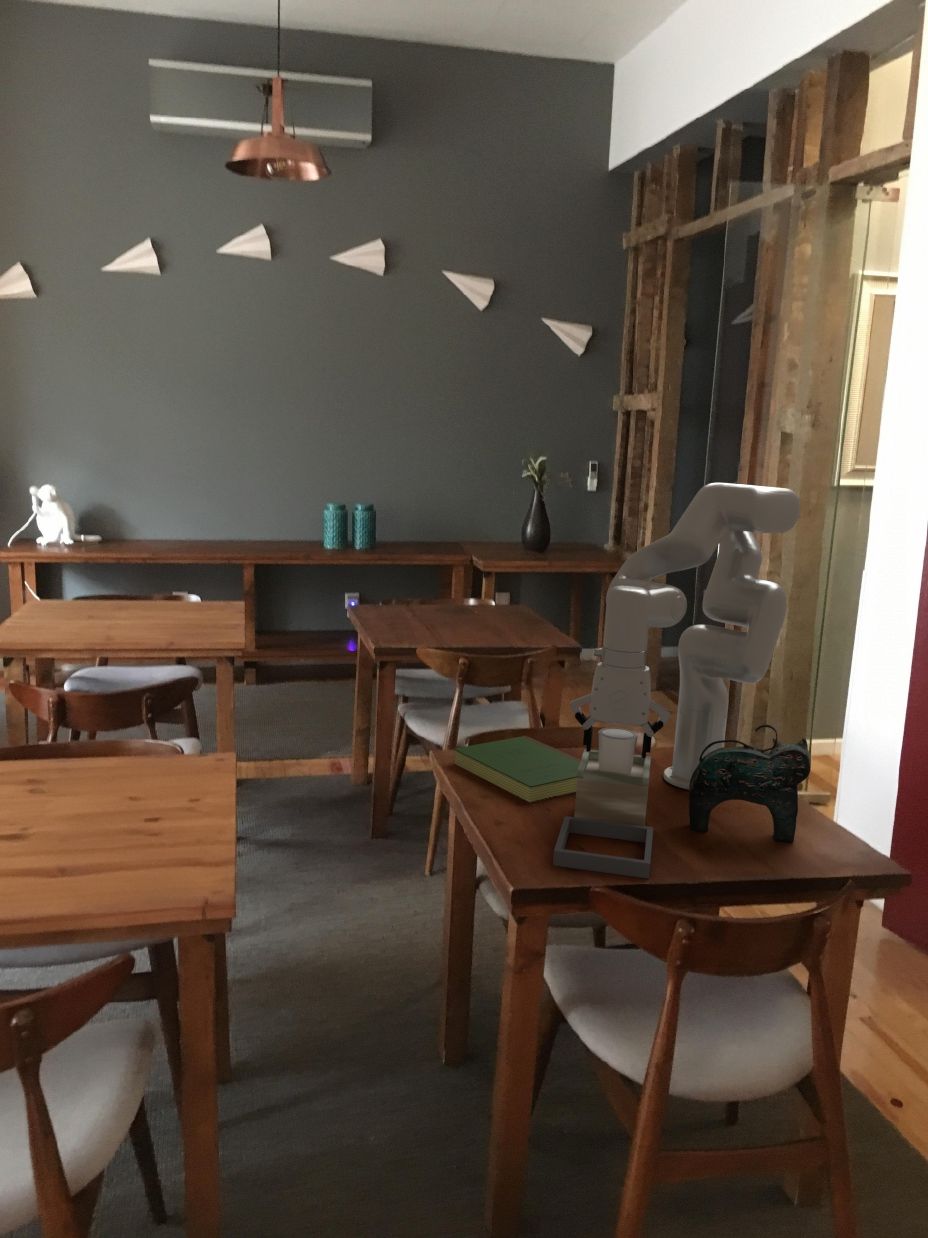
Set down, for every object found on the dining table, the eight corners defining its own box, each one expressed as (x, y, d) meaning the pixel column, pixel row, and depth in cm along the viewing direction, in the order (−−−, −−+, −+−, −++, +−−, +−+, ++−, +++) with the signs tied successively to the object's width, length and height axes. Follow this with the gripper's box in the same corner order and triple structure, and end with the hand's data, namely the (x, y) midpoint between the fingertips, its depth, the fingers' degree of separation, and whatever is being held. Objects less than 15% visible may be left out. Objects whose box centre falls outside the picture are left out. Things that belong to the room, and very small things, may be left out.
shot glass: (633, 779, 175) (637, 740, 174) (593, 775, 176) (596, 736, 175) (635, 766, 182) (638, 729, 180) (596, 762, 183) (599, 725, 182)
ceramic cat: (800, 834, 178) (814, 725, 174) (805, 849, 172) (819, 736, 168) (685, 820, 182) (696, 713, 178) (685, 834, 176) (696, 723, 172)
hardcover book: (603, 788, 197) (605, 770, 197) (529, 805, 186) (530, 786, 186) (522, 751, 217) (523, 734, 216) (451, 765, 206) (451, 747, 206)
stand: (580, 803, 188) (584, 749, 186) (646, 811, 185) (651, 756, 183) (573, 827, 176) (577, 770, 174) (643, 836, 174) (648, 778, 172)
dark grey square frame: (563, 829, 175) (564, 816, 174) (652, 841, 172) (653, 827, 171) (552, 865, 160) (554, 850, 160) (648, 878, 157) (650, 863, 157)
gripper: (571, 657, 173) (564, 753, 176) (675, 667, 170) (665, 765, 173) (576, 648, 180) (569, 741, 184) (675, 658, 177) (666, 752, 180)
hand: (616, 752), depth 178 cm, fingers open, 9 cm apart
